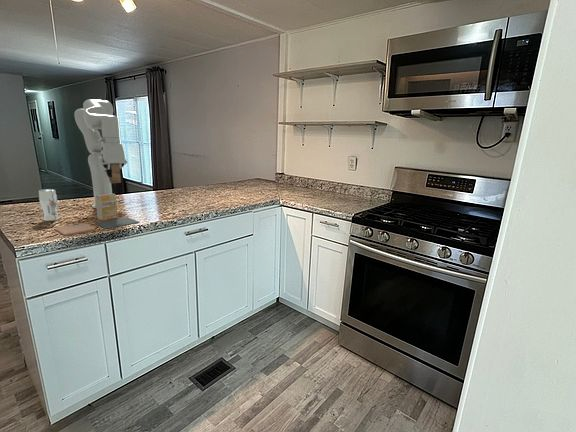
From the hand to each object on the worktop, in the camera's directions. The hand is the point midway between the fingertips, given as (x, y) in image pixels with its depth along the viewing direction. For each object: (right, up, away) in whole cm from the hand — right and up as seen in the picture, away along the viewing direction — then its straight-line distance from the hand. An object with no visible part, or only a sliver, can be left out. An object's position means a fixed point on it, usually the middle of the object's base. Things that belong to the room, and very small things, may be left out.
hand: (114, 176), depth 162 cm
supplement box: (-3, -23, -1) cm, 23 cm away
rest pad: (-7, -27, -20) cm, 35 cm away
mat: (+5, -24, -7) cm, 26 cm away
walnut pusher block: (0, -3, +1) cm, 3 cm away
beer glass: (-29, -23, -6) cm, 37 cm away
